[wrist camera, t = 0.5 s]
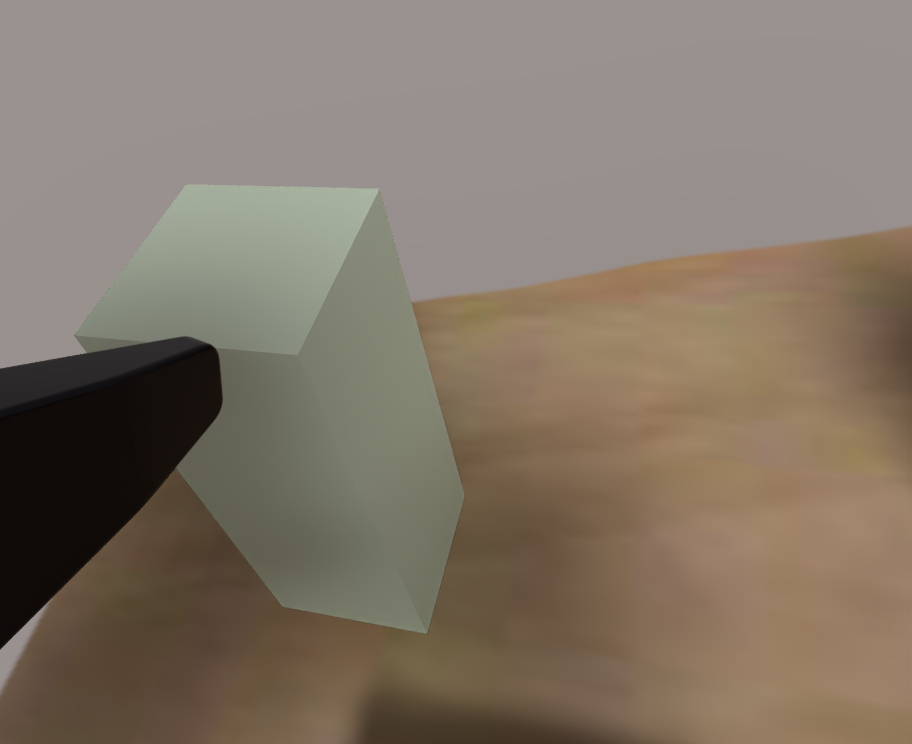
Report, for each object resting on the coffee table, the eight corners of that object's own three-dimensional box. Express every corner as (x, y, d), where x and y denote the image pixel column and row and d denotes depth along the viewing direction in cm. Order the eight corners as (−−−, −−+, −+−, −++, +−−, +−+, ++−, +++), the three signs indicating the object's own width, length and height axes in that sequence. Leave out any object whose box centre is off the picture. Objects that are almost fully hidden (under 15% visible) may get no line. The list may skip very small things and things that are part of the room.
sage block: (427, 634, 24) (297, 355, 14) (282, 606, 25) (73, 335, 16) (464, 495, 27) (379, 188, 17) (333, 478, 28) (186, 184, 19)
